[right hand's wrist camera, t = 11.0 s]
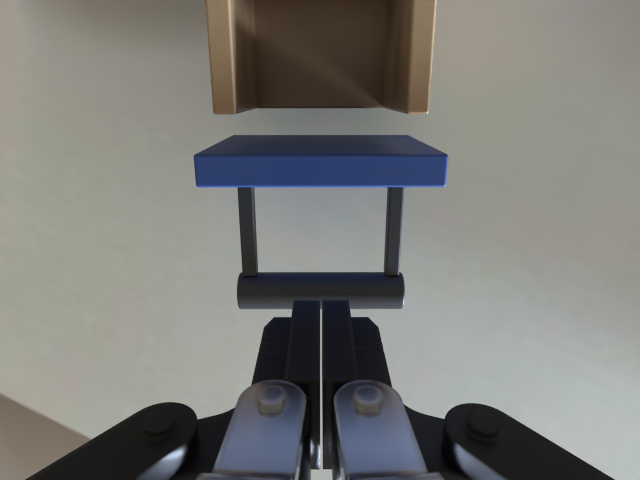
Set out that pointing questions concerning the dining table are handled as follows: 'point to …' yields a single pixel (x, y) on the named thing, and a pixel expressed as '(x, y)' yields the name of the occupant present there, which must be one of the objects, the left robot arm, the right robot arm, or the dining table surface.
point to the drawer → (320, 150)
